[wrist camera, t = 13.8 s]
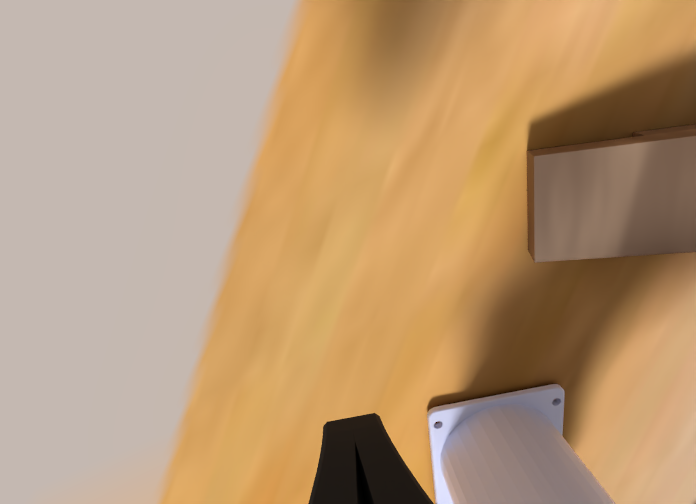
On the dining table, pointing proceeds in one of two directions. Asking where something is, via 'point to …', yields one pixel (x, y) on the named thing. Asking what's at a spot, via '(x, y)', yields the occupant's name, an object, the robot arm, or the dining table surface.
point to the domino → (613, 198)
